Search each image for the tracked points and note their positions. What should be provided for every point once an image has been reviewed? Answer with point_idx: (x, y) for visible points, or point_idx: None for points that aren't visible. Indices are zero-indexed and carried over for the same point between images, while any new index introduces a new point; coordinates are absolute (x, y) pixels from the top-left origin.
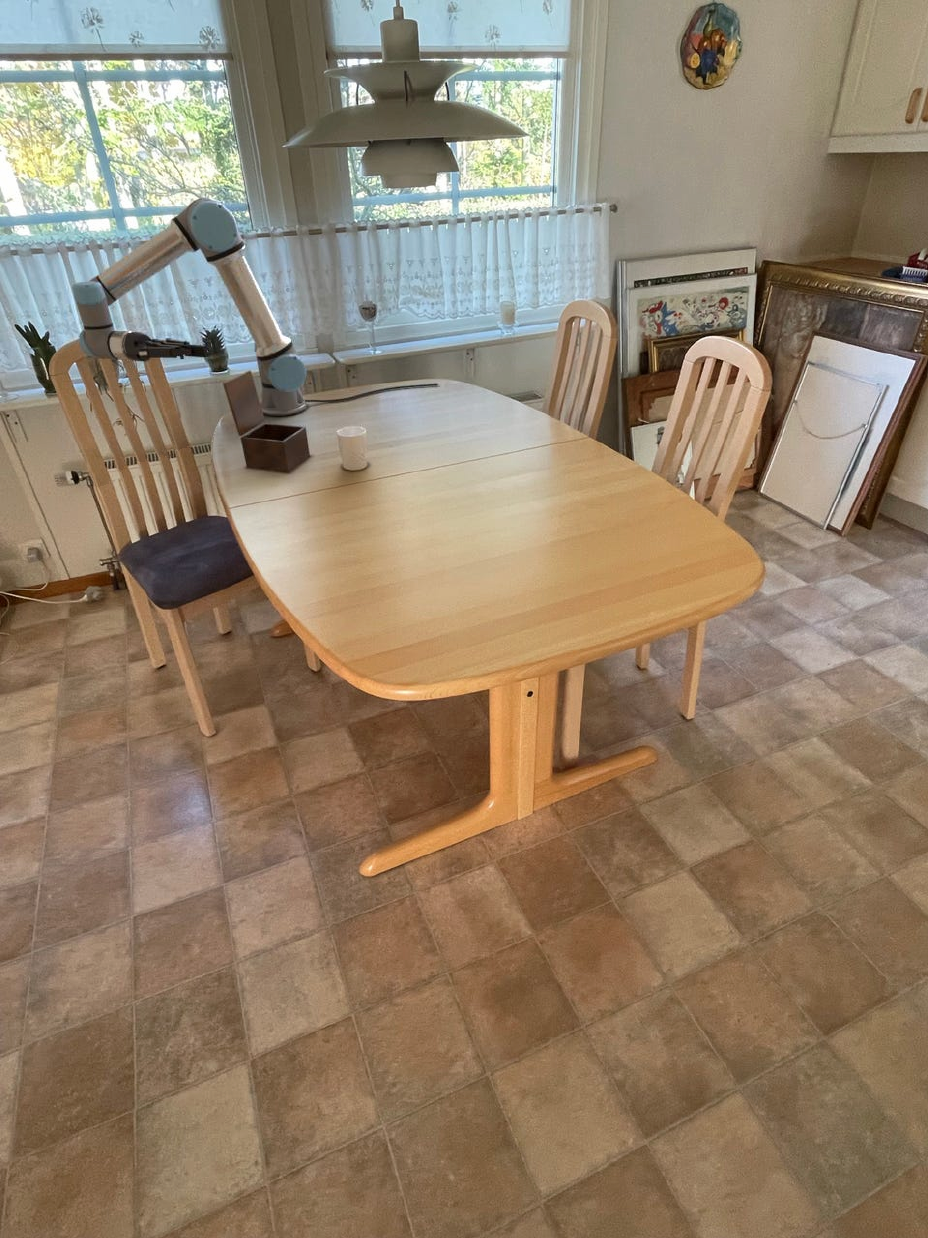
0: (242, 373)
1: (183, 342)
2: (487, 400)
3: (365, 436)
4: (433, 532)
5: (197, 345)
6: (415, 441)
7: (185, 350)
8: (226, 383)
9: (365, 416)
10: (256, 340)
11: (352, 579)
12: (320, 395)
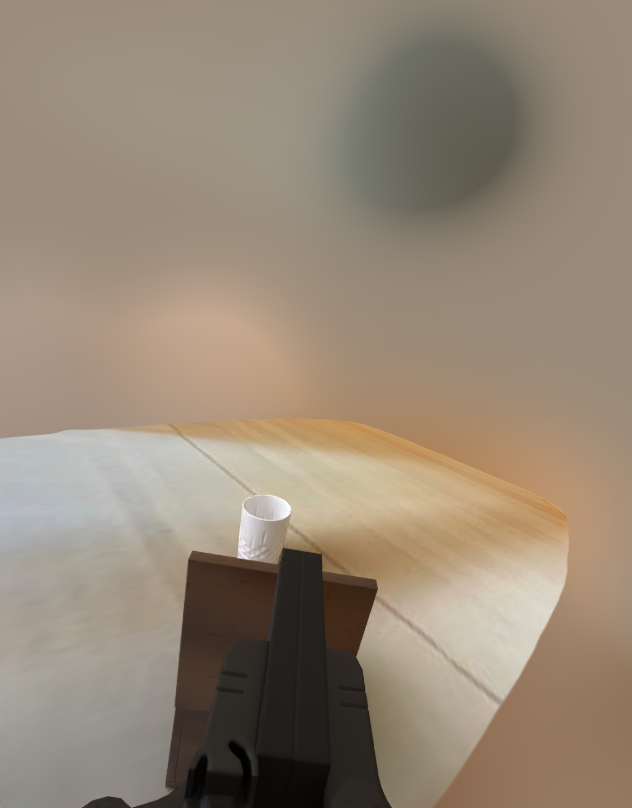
0: (236, 566)
1: (257, 777)
2: None
3: (266, 501)
4: (394, 494)
5: (289, 601)
6: (148, 509)
7: (365, 721)
8: (368, 581)
9: None
10: None
11: (498, 528)
12: None
